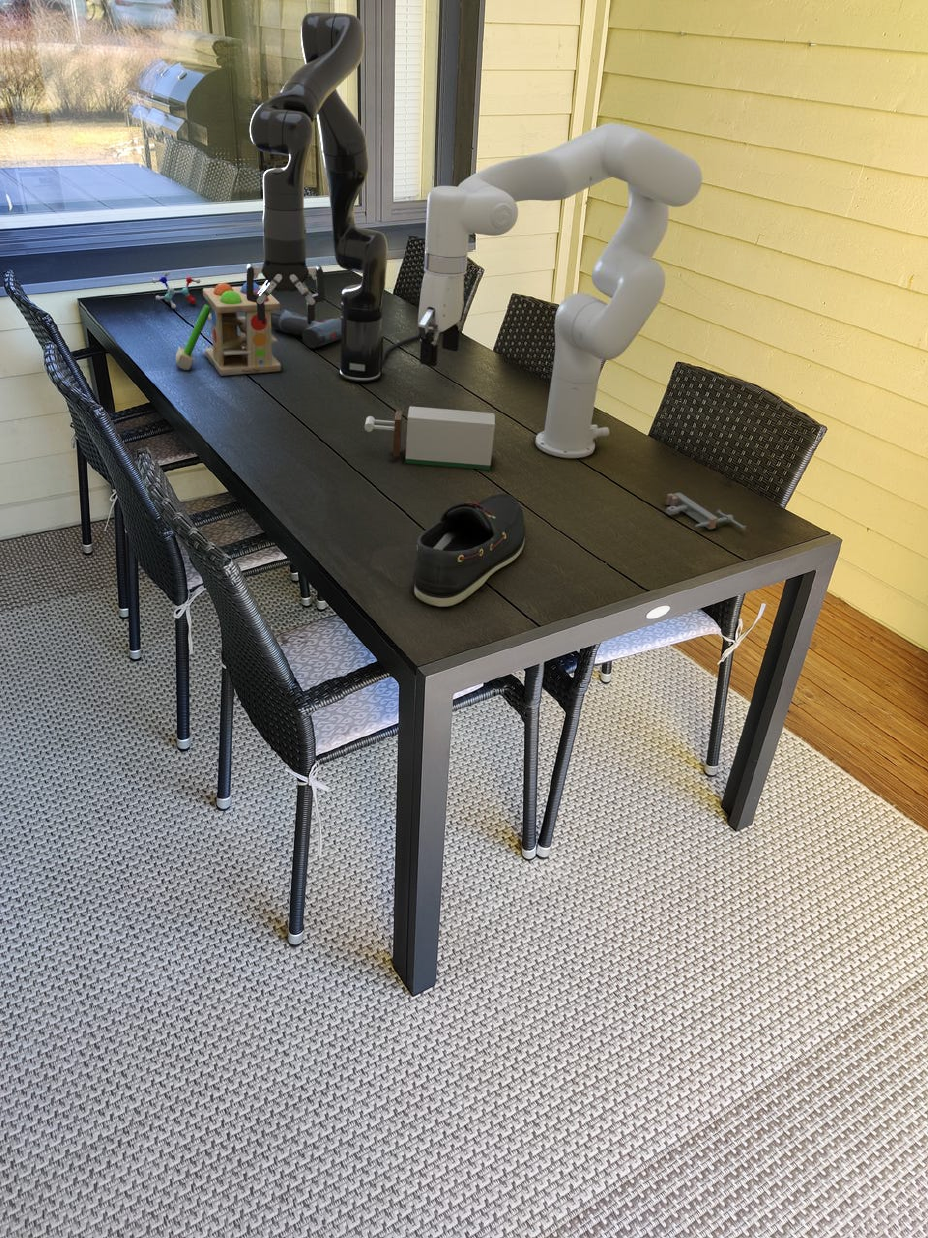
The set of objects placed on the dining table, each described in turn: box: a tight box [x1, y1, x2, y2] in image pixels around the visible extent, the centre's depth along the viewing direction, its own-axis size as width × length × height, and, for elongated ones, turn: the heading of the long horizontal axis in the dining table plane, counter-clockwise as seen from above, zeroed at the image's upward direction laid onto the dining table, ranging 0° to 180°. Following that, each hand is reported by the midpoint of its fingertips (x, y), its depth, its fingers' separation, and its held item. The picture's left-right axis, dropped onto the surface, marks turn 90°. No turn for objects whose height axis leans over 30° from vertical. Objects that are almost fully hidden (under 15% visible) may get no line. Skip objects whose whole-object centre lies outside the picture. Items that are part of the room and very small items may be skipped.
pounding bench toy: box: [174, 282, 282, 377], centre depth 225 cm, size 23×14×18 cm, turn 116°
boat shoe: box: [412, 493, 526, 608], centre depth 163 cm, size 13×33×10 cm, turn 147°
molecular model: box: [151, 270, 201, 310], centre depth 262 cm, size 12×10×10 cm
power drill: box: [271, 308, 341, 349], centre depth 252 cm, size 5×19×20 cm
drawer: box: [363, 410, 403, 458], centre depth 195 cm, size 22×4×8 cm, turn 89°
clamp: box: [665, 492, 747, 532], centre depth 184 cm, size 15×2×10 cm
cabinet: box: [404, 405, 496, 471], centre depth 195 cm, size 17×6×10 cm, turn 89°
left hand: (286, 322), depth 185 cm, fingers open, 8 cm apart
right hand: (439, 356), depth 183 cm, fingers open, 9 cm apart
